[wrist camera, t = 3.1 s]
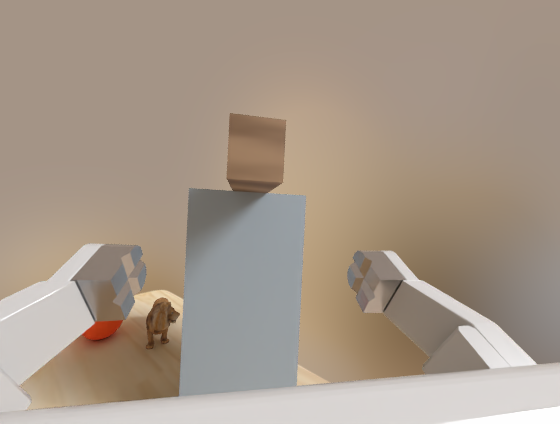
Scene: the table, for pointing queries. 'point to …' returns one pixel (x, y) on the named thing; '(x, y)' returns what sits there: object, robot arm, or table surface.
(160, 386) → the table surface
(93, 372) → the table surface
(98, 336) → the clementine
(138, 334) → the table surface
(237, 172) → the bar
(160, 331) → the lion figurine
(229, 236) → the stand
